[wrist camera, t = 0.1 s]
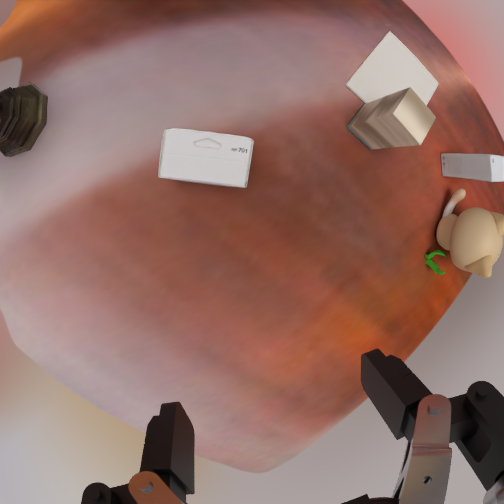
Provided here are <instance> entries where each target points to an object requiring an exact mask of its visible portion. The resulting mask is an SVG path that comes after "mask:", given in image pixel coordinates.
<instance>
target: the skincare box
mask: <svg viewBox="0 0 504 504" xmlns="http://www.w3.org/2000/svg"><path fill="white" fill-rule="evenodd" d="M441 163H442V176H447V177H457V178H466V179H475V180H483V181H491V182H501V181H504V156H499V155H490V154H460V153H441Z"/></svg>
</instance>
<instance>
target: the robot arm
mask: <svg viewBox="0 0 504 504" xmlns="http://www.w3.org/2000/svg"><path fill="white" fill-rule="evenodd" d="M361 383H362V386H363V389H364V391H365V392H366V394H367V395H368V397H369V398H370V400H371V401H372V403H373V404H374V406H375V407H376V409H377V410H378V412H379V413H380V415H381V416H382V418H383V419H384V421H385V422H386V424H387V425H388V427H389V428H390V430H391V432H392V433H393V434H394V436H395V438H396V439H397V440H398V439H400V438H402V437H404V436H405V437H406V438H407V440H408V442H407V446H406V450H405V455H404V459H403V463H402V467H401V471H400V475H399V478H398V481H397V484H396V487H395V490H394V493H393V496H392V498H388V497H379V498H371V499H369V497H368V495H367V494H366V495H363V496H361V497H358V498H356V499H353V500H350V501H348V502H345V503H342V504H444V501H445V496H446V490H447V485H448V479H449V473H450V465H451V457H452V449H451V448H449V443H452V442H455V443H456V445H457V446H458V448H459V449H460V451H461V452H462V454H463V455H464V457H465V458H466V460H467V461H468V463H469V464H470V466H471V467H472V469H473V470H474V472H475V473H476V475H477V477H478V478H479V480H480V481H481V483H482V485H483V486H484V488H485V489H486V491H487V492H486V494H485V497H484V500H483V504H504V397H503V396H502V394H500V392H499V391H498V390H497V389H496V388H495V387H494V386H493V385H492V384H490V383H488V382H486V381H478V382H475V383H473V384H472V385H471V386H470V387H469V388H468V391H467V393H466V394H463V395H459V396H456V397H453V398H446V397H445V396H442V395H439V394H432V393H431V392H430V391H429V390H428V389H427V387H426V386H425V385H424V384H423V383H422V382H421V381H420V380H419V379H418V377H416V375H415V374H413V373H412V371H411V370H410V369H409V368H407V366H406V364H405V363H404V362H403V361H402V360H401V359H399V358H397V357H395V356H393V355H389V356H387V357H386V356H385V355H384V354H383V353H382V352H381V351H380V350H379V349H375V350H372V351H370V352H367V353H364V354H362V356H361ZM186 494H194V429H193V425H192V423H191V421H190V419H189V418H188V416H187V414H186V412H185V410H184V409H183V407H182V405H181V403H180V402H172V403H164V404H162V405H161V409H160V415H159V416H153V418H152V419H151V421H150V422H149V424H148V426H147V431H146V437H145V444H144V449H143V455H142V461H141V467H140V472H139V473H137V474H135V475H134V476H133V477H132V478H131V479H130V482H129V483H128V484H125V485H121V486H117V487H113V488H109V487H108V486H107V485H105V484H103V483H92V484H90V485H89V486H87V487H86V489H85V490H84V492H83V496H82V502H81V504H187V503H186Z"/></svg>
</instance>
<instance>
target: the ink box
mask: <svg viewBox="0 0 504 504" xmlns="http://www.w3.org/2000/svg"><path fill="white" fill-rule="evenodd" d="M253 144H254V140H252V139H251V138H248V137H244V136H237V135H231V134H221V133H214V132H208V131H197V130H190V129H179V128H171V129H166V130H164V132H163V137H162V144H161V152H160V160H159V173H158V176H159V177H160V178H166V179H172V180H179V181H186V182H194V183H202V184H210V185H219V186H229V187H246V186H247V182H248V176H249V170H250V163H251V156H252V150H253Z"/></svg>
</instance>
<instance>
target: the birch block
mask: <svg viewBox="0 0 504 504" xmlns="http://www.w3.org/2000/svg"><path fill="white" fill-rule="evenodd" d="M435 118H436V117H435V116H434V115H433V113H432V112H431V111H430V110H429V108H428V107H427V106H426V105H425V103H424V102H423V101H422V100H421V99H420V98H419V96H418V95H417V94H416V93H415V92H414V91H413V90H412V88H411V87H409V88H406V89H403V90H401V91H398V92H395V93H392V94H390V95H387V96H384V97H382V98H379V99H377V100H374V101H371V102H369V103H366V104H364V105H362V107H361V108H360V109H359V111H358V112H357V113H356V115H355V116H354V117H353V119H352V120H351V122H350V123H349V124H348V126H347V127H346V128H348V129H349V130H350V131H351V132H352V133H353V134H354V135H355V136H356V137H357V138H358V139H359V140H360V141H361V142H362V143H363V144H364V145H365V146H366V147H368V148H369V149H370V150H372V149H382V148H391V147H402V146H414V145H421V143H422V141H423V140H424V138H425V136H426V135H427V133H428V131H429V129H430V127H431V126H432V124H433V122H434V120H435Z"/></svg>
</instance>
